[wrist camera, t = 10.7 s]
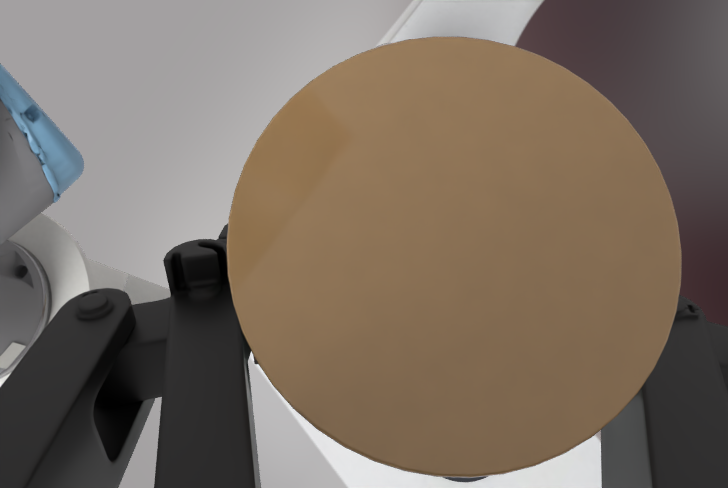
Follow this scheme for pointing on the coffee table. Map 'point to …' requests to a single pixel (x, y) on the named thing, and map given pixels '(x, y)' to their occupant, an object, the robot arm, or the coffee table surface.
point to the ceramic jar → (453, 257)
